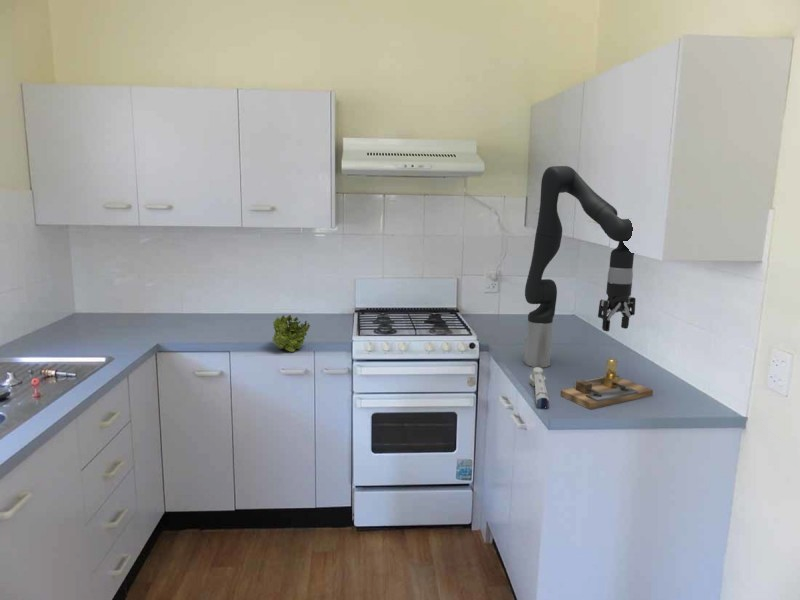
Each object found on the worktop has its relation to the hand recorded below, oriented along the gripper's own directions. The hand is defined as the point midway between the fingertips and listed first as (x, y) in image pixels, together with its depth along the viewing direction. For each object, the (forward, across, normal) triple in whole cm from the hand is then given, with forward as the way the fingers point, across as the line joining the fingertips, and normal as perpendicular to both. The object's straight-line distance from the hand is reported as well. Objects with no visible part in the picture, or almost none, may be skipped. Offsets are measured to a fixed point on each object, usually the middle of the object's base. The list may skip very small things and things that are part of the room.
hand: (615, 329), depth 187 cm
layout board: (+22, +4, +3) cm, 22 cm away
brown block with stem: (+19, +12, +2) cm, 23 cm away
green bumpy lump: (+22, +82, -94) cm, 127 cm away
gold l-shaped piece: (+19, 0, +2) cm, 19 cm away
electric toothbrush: (+22, +24, -8) cm, 33 cm away
